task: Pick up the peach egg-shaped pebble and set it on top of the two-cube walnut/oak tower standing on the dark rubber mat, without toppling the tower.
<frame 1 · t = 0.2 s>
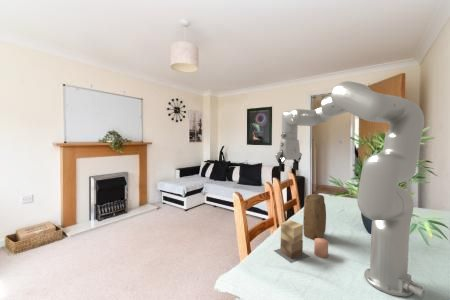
hand: (288, 170, 107), 31 cm above the table, fingers open, 9 cm apart
tower top: (291, 238, 85), point 6 cm above the table, touching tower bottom
peach egg-shaped pebble: (320, 255, 85), on the table
mat: (291, 254, 86), on the table
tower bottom: (291, 253, 86), resting on mat, touching tower top
block: (314, 236, 102), on the table
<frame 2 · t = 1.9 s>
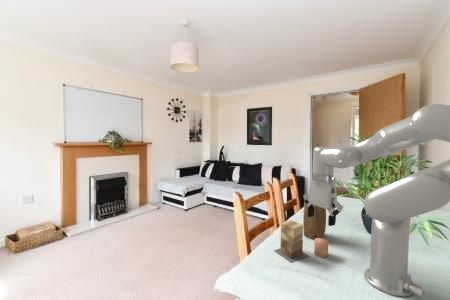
hand: (320, 220, 85), 14 cm above the table, fingers open, 9 cm apart
nothing on the table moved.
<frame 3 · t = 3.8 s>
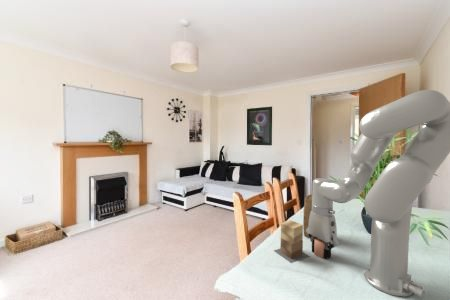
hand: (320, 254, 85), 0 cm above the table, fingers closed on peach egg-shaped pebble, 4 cm apart
peach egg-shaped pebble: (320, 255, 85), on the table, touching gripper
everything else where it was.
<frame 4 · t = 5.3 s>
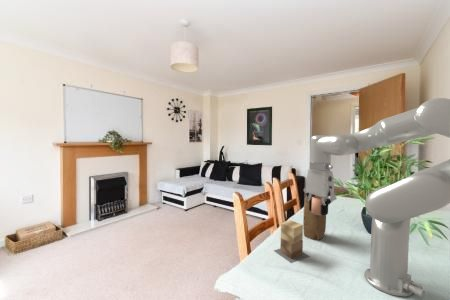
hand: (318, 211, 84), 18 cm above the table, fingers closed on peach egg-shaped pebble, 4 cm apart
peach egg-shaped pebble: (318, 213, 84), point 17 cm above the table, touching gripper
everything else where it was.
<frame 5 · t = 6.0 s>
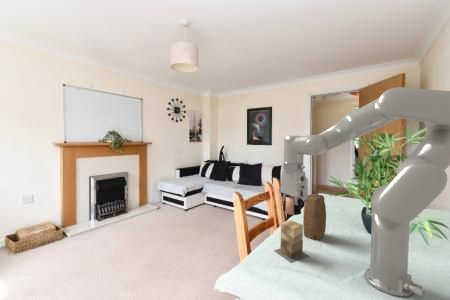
hand: (291, 211, 85), 17 cm above the table, fingers closed on peach egg-shaped pebble, 4 cm apart
peach egg-shaped pebble: (291, 212, 85), point 17 cm above the table, touching gripper
everything else where it was.
when the fingers open (14 cm above the table, at t = 6.8 s): peach egg-shaped pebble drops 2 cm, resting on tower top.
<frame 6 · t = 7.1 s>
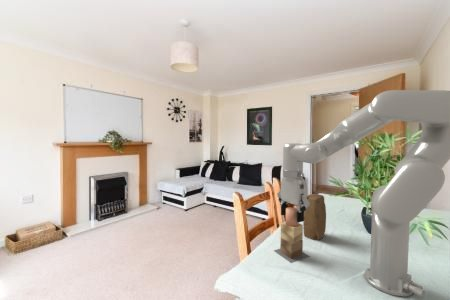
hand: (291, 217, 85), 15 cm above the table, fingers open, 8 cm apart
tower top: (291, 238, 85), point 6 cm above the table, touching peach egg-shaped pebble, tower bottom
peach egg-shaped pebble: (292, 224, 85), point 12 cm above the table, touching tower top
everything else where it was.
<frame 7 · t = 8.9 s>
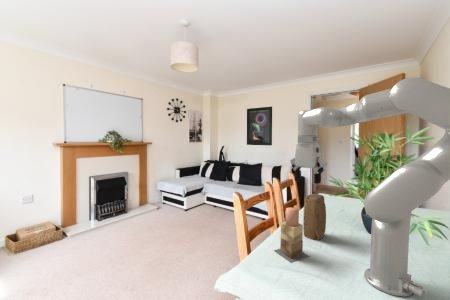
hand: (307, 181, 89), 29 cm above the table, fingers open, 9 cm apart
nothing on the table moved.
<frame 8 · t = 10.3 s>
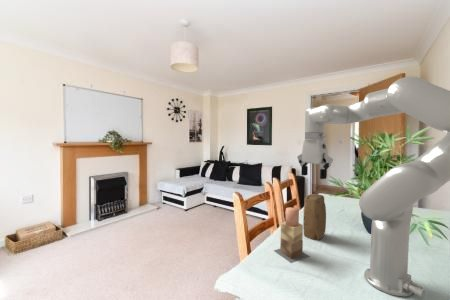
hand: (313, 176, 91), 30 cm above the table, fingers open, 9 cm apart
nothing on the table moved.
at the end: peach egg-shaped pebble 0.1 cm from the tower top (horizontally); peach egg-shaped pebble point 12.4 cm above the table; tower top tilted 0° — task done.
